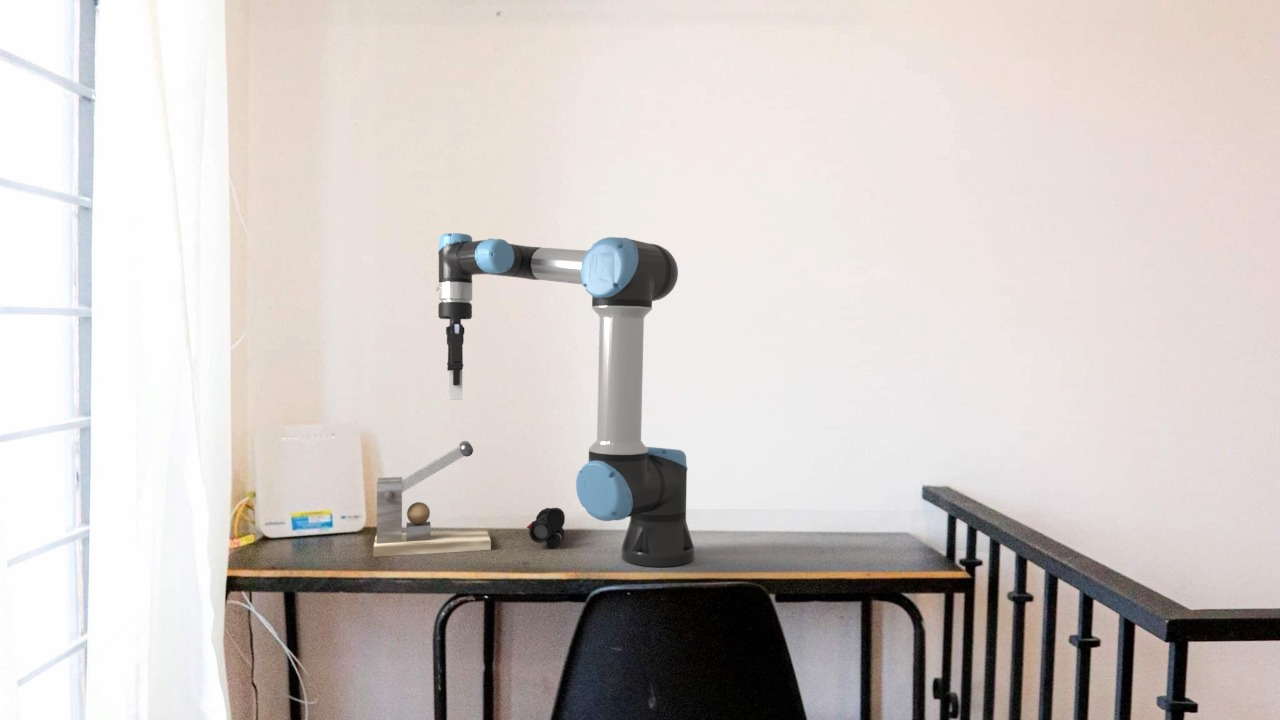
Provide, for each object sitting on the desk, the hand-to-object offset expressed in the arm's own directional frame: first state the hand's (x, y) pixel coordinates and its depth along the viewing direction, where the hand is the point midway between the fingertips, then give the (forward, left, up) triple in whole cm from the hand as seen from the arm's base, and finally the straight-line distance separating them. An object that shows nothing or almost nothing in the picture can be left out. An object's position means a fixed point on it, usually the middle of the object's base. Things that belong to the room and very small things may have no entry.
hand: (454, 398), depth 185 cm
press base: (-9, +5, -32) cm, 33 cm away
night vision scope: (-10, -20, -32) cm, 39 cm away
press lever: (-9, +5, -16) cm, 19 cm away
